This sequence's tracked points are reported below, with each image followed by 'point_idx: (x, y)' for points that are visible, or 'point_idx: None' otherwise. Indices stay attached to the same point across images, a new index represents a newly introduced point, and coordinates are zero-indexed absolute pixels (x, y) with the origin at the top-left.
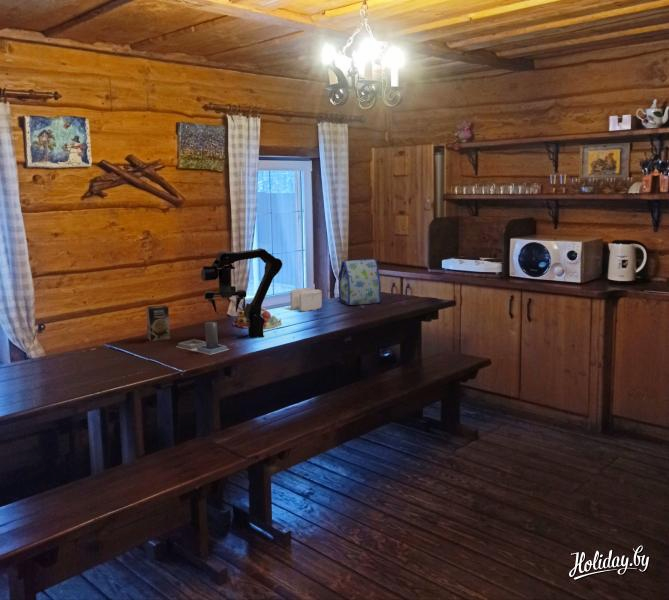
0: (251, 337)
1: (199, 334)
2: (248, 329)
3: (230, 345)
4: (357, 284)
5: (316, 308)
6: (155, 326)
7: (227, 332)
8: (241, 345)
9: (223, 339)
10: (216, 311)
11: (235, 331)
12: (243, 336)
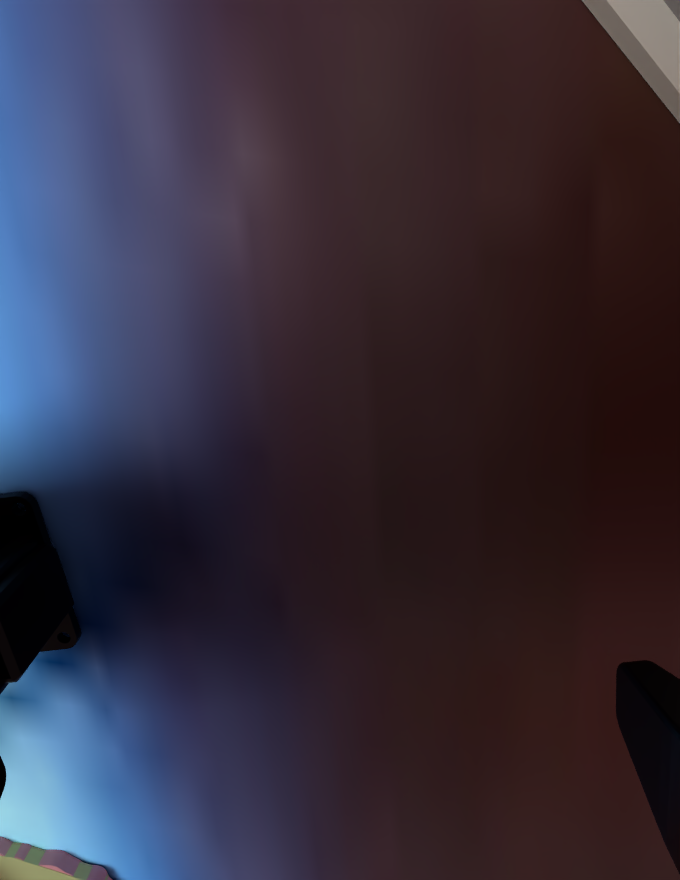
0: (17, 492)
1: None
2: (18, 604)
3: (252, 80)
4: None
5: None
6: None
7: (355, 777)
8: (78, 53)
9: (383, 469)
10: (650, 697)
11: (269, 804)
12: (142, 583)
